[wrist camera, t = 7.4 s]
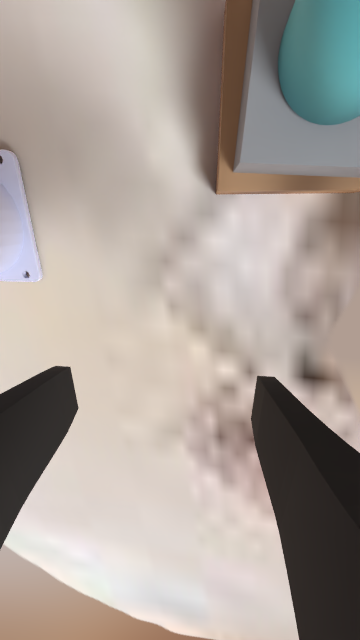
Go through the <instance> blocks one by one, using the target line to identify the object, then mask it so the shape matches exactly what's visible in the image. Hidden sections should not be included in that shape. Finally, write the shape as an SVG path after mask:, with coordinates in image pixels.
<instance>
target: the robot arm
mask: <svg viewBox="0 0 360 640" xmlns="http://www.w3.org/2000/svg"><path fill="white" fill-rule="evenodd" d="M0 156H1V157H2V159H3V162H2V164H1V163H0V281H23V282H36V281H39V280H41V279H42V270H41V265H40V260H39V256H38V251H37V246H36V242H35V237H34V232H33V227H32V223H31V218H30V213H29V209H28V204H27V199H26V194H25V190H24V185H23V180H22V176H21V171H20V166H19V162H18V158H17V156H16V155H15V154H14V153H13V152H12V151H9V150H5V149H3V150H0ZM26 271H27V272H28V273H29V275H30V277H28V276H27V274H26ZM77 410H78V404H77V399H76V394H75V389H74V384H73V379H72V374H71V368H70V367H63V366H55V367H52V368H50V369H48V370H46V371H44V372H42V373H40V374H38V375H36V376H34V377H32V378H30V379H28V380H26V381H24V382H22V383H21V384H19V385H17V386H15V387H13V388H11V389H9V390H7V391H5V392H4V393H2V394H0V549H1V547H2V545H3V543H4V541H5V539H6V537H7V535H8V533H9V531H10V529H11V527H12V525H13V523H14V521H15V519H16V517H17V515H18V514H19V512H20V510H21V508H22V506H23V504H24V503H25V501H26V499H27V497H28V496H29V494H30V492H31V491H32V489H33V487H34V486H35V484H36V482H37V481H38V479H39V478H40V476H41V474H42V473H43V471H44V470H45V468H46V466H47V465H48V463H49V462H50V460H51V458H52V457H53V455H54V454H55V452H56V450H57V449H58V447H59V445H60V444H61V442H62V441H63V439H64V437H65V436H66V434H67V432H68V430H69V428H70V426H71V424H72V422H73V419H74V417H75V415H76V412H77ZM251 421H252V428H253V434H254V440H255V446H256V450H257V453H258V457H259V460H260V464H261V468H262V471H263V475H264V478H265V482H266V485H267V489H268V492H269V496H270V499H271V503H272V506H273V510H274V513H275V517H276V521H277V525H278V529H279V534H280V539H281V544H282V549H283V554H284V559H285V564H286V569H287V574H288V580H289V585H290V590H291V596H292V601H293V607H294V612H295V618H296V623H297V629H298V635H299V640H360V453H359V452H358V451H356V450H355V449H354V448H353V447H351V446H350V445H349V444H348V443H346V442H345V441H344V440H343V439H342V438H340V437H339V436H338V435H337V434H336V433H334V432H333V431H332V430H331V429H330V428H328V427H327V426H326V425H325V424H324V423H323V422H322V421H320V420H319V419H318V418H317V417H316V416H315V415H314V414H313V413H312V412H311V411H309V410H308V409H307V408H306V407H305V406H304V405H303V404H302V403H301V402H300V401H299V400H298V399H297V398H296V397H295V396H294V395H293V394H292V393H291V392H290V391H289V390H287V389H286V388H285V387H284V386H283V385H282V384H281V383H280V382H279V381H278V380H277V379H276V378H275V377H266V376H257V382H256V389H255V396H254V403H253V409H252V416H251Z"/></svg>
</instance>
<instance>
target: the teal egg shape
mask: <svg viewBox="0 0 360 640" xmlns="http://www.w3.org/2000/svg"><path fill="white" fill-rule="evenodd" d="M278 75H279V82H280V86H281V90H282V92H283V95H284V97H285V99H286V101H287V103H288V104H289V106H290V107H291V108H292V109H293V111H294V112H295V113H297V114H298V115H299V116H300V117H302V118H303V119H305V120H307V121H309V122H311V123H315V124H319V125H336V124H341V123H344V122H347V121H350V120H352V119H354V118H356V117H359V116H360V0H295V3H294V5H293V8H292V11H291V13H290V16H289V19H288V21H287V24H286V27H285V29H284V32H283V36H282V39H281V43H280V48H279V55H278Z"/></svg>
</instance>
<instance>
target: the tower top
mask: <svg viewBox="0 0 360 640" xmlns="http://www.w3.org/2000/svg"><path fill="white" fill-rule="evenodd" d="M294 3H295V0H253V1H252V9H251V18H250V27H249V36H248V44H247V53H246V62H245V71H244V80H243V88H242V97H241V106H240V115H239V124H238V132H237V141H236V150H235V159H234V168H233V172H235V173H259V174H283V175H307V176H331V177H355V178H360V116H359V117H356V118H354V119H352V120H350V121H347V122H344V123H341V124H336V125H319V124H315V123H311V122H309V121H307V120H305V119H303V118H302V117H300V116H299V115H298V114H297V113H295V112H294V111H293V109H292V108H291V107H290V106H289V104H288V103H287V101H286V99H285V97H284V95H283V92H282V90H281V86H280V82H279V75H278V55H279V48H280V43H281V39H282V36H283V32H284V29H285V27H286V24H287V21H288V19H289V16H290V13H291V11H292V8H293V5H294Z"/></svg>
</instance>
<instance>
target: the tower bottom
mask: <svg viewBox="0 0 360 640" xmlns="http://www.w3.org/2000/svg"><path fill="white" fill-rule="evenodd" d="M252 1H253V0H226V4H225V15H224V36H223V57H222V78H221V99H220V120H219V141H218V162H217V183H216V194H291V193H354V192H360V178H355V177H331V176H307V175H283V174H259V173H235V172H233V168H234V159H235V150H236V141H237V132H238V124H239V115H240V106H241V97H242V88H243V80H244V71H245V62H246V53H247V44H248V36H249V27H250V18H251V9H252Z"/></svg>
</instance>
